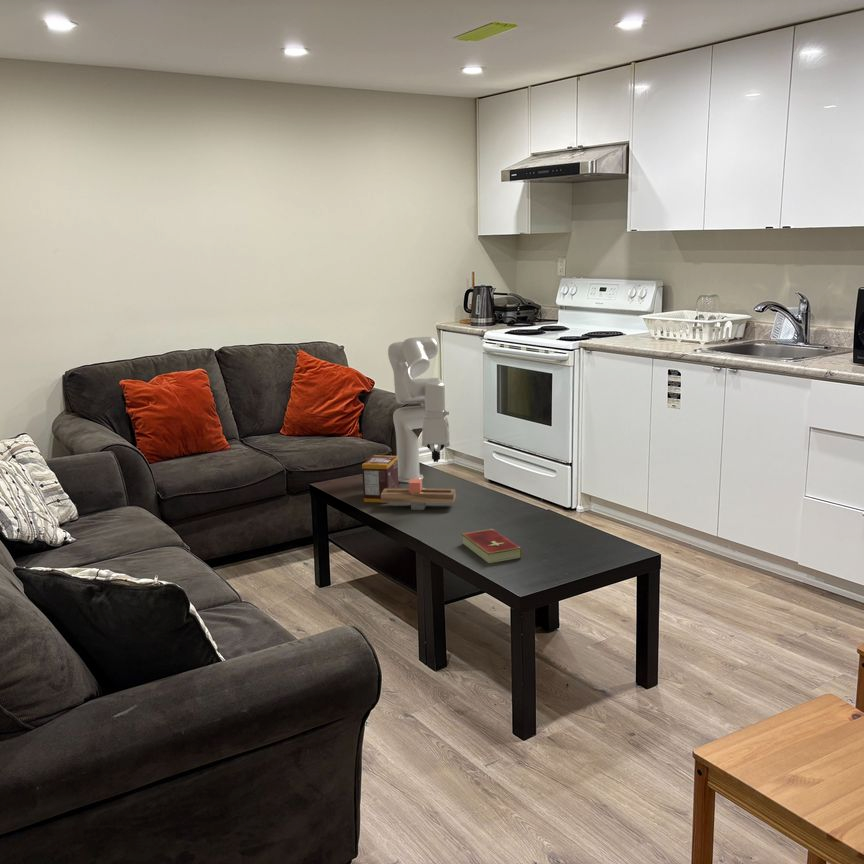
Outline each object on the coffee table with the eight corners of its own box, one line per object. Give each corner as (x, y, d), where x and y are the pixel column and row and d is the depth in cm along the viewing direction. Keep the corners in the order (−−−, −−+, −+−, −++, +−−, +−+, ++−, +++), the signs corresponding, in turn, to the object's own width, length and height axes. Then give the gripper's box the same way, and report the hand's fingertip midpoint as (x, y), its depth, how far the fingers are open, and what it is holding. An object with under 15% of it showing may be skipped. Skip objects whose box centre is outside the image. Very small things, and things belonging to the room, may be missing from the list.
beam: (385, 503, 337) (384, 487, 336) (455, 504, 334) (455, 488, 332) (381, 509, 330) (380, 493, 328) (453, 510, 326) (453, 494, 325)
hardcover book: (493, 539, 294) (493, 527, 293) (522, 559, 275) (522, 546, 274) (461, 544, 290) (461, 533, 289) (488, 565, 271) (488, 552, 270)
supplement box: (399, 492, 352) (397, 455, 349) (388, 503, 338) (386, 464, 335) (375, 491, 355) (373, 454, 352) (363, 502, 340) (361, 464, 337)
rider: (411, 493, 334) (410, 478, 333) (422, 493, 333) (422, 478, 332) (409, 497, 328) (408, 482, 327) (420, 497, 328) (419, 482, 326)
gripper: (455, 412, 326) (456, 458, 330) (416, 412, 328) (418, 458, 332) (453, 417, 318) (454, 464, 323) (414, 416, 320) (415, 463, 325)
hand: (436, 461), depth 328 cm, fingers closed
